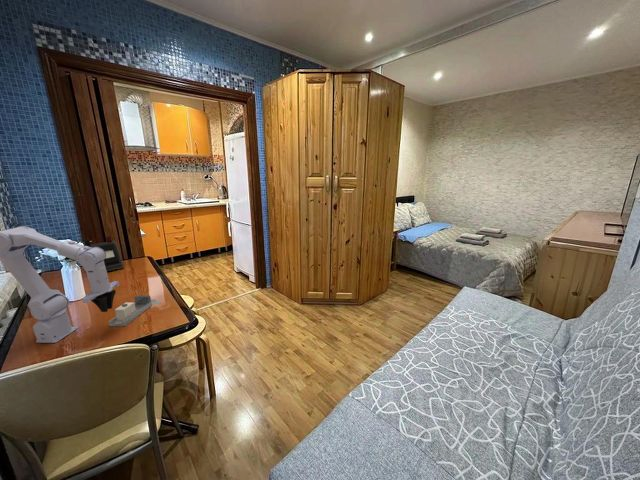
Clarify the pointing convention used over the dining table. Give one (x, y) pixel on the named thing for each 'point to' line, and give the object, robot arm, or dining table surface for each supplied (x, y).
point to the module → (125, 310)
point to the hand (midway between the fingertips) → (106, 309)
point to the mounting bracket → (155, 302)
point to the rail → (140, 305)
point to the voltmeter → (109, 253)
